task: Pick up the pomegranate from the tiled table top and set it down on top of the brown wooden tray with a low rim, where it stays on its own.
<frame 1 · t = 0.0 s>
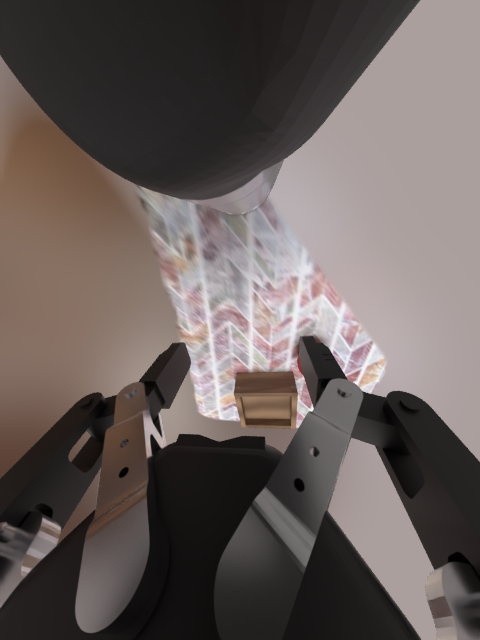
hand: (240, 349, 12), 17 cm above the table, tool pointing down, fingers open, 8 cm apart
brown wooden tray: (265, 389, 40), on the table
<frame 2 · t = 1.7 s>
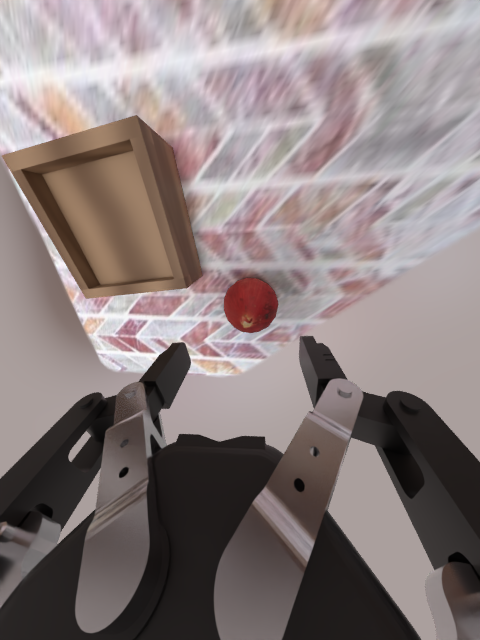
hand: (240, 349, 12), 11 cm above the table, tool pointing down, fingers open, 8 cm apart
brown wooden tray: (143, 229, 20), on the table
pomegranate: (252, 293, 22), on the table
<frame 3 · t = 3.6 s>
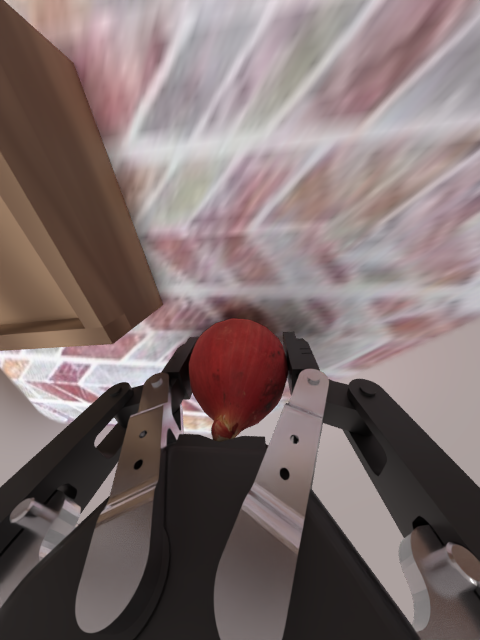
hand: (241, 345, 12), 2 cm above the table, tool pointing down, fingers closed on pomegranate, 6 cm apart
brown wooden tray: (55, 230, 12), on the table
pomegranate: (243, 332, 14), on the table, touching gripper
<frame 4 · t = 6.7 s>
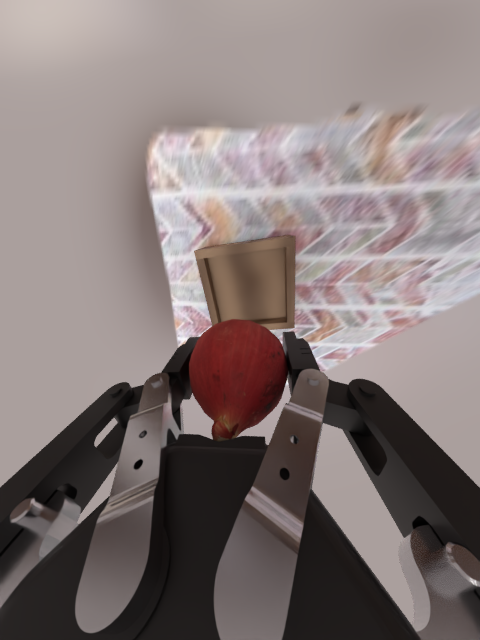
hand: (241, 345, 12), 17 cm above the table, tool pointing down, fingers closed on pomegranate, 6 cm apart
brown wooden tray: (250, 281, 27), on the table
pomegranate: (243, 332, 14), point 15 cm above the table, touching gripper
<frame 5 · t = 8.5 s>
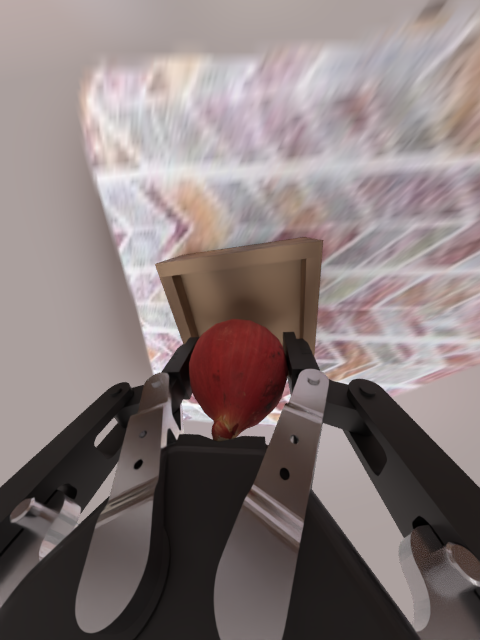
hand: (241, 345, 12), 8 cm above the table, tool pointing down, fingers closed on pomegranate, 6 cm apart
brown wooden tray: (247, 302, 19), on the table
pomegranate: (243, 332, 14), point 6 cm above the table, touching gripper
when the fingers open (6 cm above the table, at t = 9.9 s): pomegranate drops 1 cm, resting on brown wooden tray.
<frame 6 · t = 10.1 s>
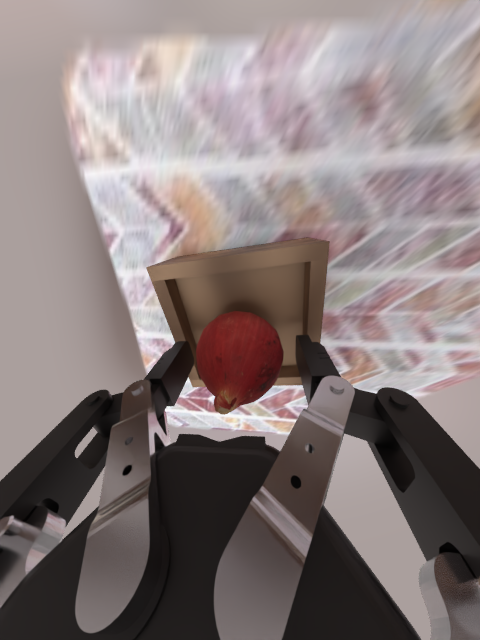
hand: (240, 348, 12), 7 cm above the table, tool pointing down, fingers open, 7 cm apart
brown wooden tray: (246, 306, 18), on the table, touching pomegranate
pomegranate: (246, 324, 15), point 3 cm above the table, touching brown wooden tray
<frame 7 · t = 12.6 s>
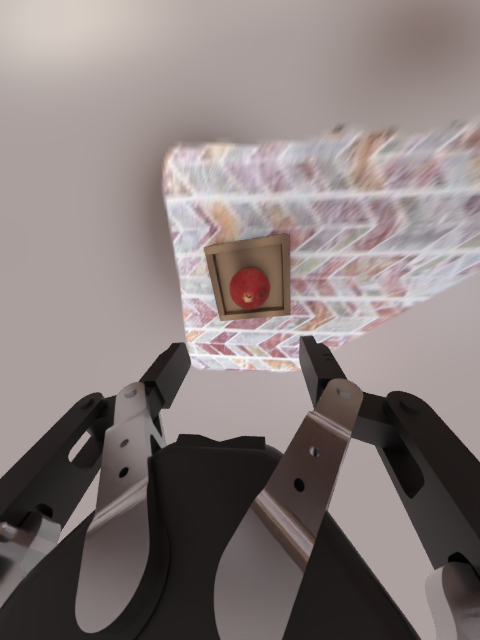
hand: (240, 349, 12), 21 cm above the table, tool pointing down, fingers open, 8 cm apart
brown wooden tray: (251, 275, 31), on the table, touching pomegranate
pomegranate: (250, 281, 28), point 3 cm above the table, touching brown wooden tray
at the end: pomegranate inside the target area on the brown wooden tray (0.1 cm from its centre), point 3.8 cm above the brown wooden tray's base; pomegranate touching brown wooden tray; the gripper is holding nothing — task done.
